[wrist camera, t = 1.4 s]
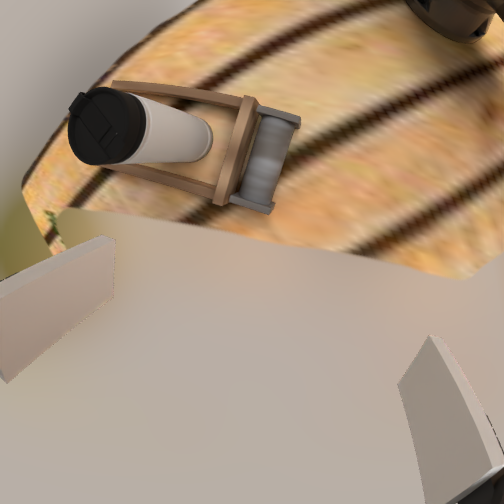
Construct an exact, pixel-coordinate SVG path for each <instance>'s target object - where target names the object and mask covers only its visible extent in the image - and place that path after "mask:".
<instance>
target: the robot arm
mask: <svg viewBox="0 0 504 504" xmlns="http://www.w3.org/2000/svg"><path fill="white" fill-rule="evenodd" d="M406 2H407V3H408V5H409V6H410V7H411V9H412V10H413V11H414V12H415V13H416V14H417V15H418V16H419V17H420V18H421V19H422V20H423V21H424V22H425V23H426V24H427V25H429V26H430V27H431V28H432V29H434V30H435V31H437V32H438V33H440V34H442V35H443V36H445V37H447V38H449V39H452V40H454V41H457V42H461V43H473V42H476V41H477V40H479V39H480V38H482V37H483V36H484V35H485V34H486V33H487V31H488V29H489V26H490V24H491V21H492V19H493V16H494V14H495V13H497V14H498V15H499V17H500V18H501V19H502V21H503V22H504V0H406ZM115 244H116V240H115V239H113V238H110V237H107V236H104V235H100V236H98V237H95V238H93V239H91V240H88V241H86V242H84V243H81V244H79V245H77V246H74V247H72V248H70V249H68V250H65V251H63V252H61V253H59V254H56V255H54V256H52V257H50V258H48V259H46V260H44V261H42V262H39V263H37V264H35V265H33V266H31V267H29V268H27V269H25V270H23V271H21V272H18V273H15V274H13V275H11V276H9V277H7V278H6V279H5V280H4V279H3V280H1V281H0V377H1V378H2V379H3V380H4V381H5V382H6V383H9V382H10V381H11V380H12V379H13V378H14V377H16V376H17V375H18V374H19V373H20V372H21V371H22V370H24V369H25V368H26V367H27V366H28V365H30V364H31V363H32V362H33V361H34V360H35V359H37V358H38V357H39V356H40V355H41V354H43V353H44V352H45V351H46V350H47V349H49V348H50V347H51V346H52V345H54V344H55V343H56V342H57V341H58V340H60V339H61V338H62V337H63V336H65V335H66V334H67V333H68V332H70V331H71V330H72V329H73V328H75V327H76V326H77V325H78V324H80V322H82V321H83V320H85V319H86V318H87V317H89V316H90V315H91V314H92V313H94V312H95V311H96V310H98V309H99V308H100V307H102V306H103V305H104V304H105V303H107V302H108V301H109V300H111V299H112V298H113V289H114V287H113V286H114V260H115ZM397 385H398V388H399V391H400V395H401V398H402V401H403V405H404V408H405V412H406V415H407V419H408V423H409V427H410V430H411V435H412V438H413V442H414V447H415V451H416V455H417V460H418V465H419V470H420V475H421V480H422V485H423V491H424V497H425V503H426V504H456V503H458V504H504V452H503V449H502V447H501V445H500V442H499V440H498V438H497V437H496V433H495V431H494V429H492V424H491V422H490V420H489V418H488V416H487V415H486V414H485V412H484V410H483V408H482V406H481V404H480V402H479V400H478V398H477V397H476V395H475V393H474V391H473V389H472V387H471V385H470V384H469V382H468V380H467V378H466V376H465V375H464V373H463V371H462V369H461V368H460V366H459V364H458V363H457V361H456V359H455V358H454V356H453V354H452V353H451V351H450V349H449V348H448V346H447V345H446V343H445V341H444V340H443V338H441V337H437V336H433V335H428V337H427V339H426V341H425V342H424V344H423V346H422V348H421V349H420V351H419V352H418V354H417V356H416V357H415V359H414V360H413V362H412V363H411V365H410V366H409V368H408V370H407V371H406V373H405V374H404V375H403V377H402V378H401V380H400V381H399V383H398V384H397Z"/></svg>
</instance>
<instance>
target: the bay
mask: <svg viewBox="0 0 504 504" xmlns="http://www.w3.org/2000/svg"><path fill="white" fill-rule="evenodd" d="M111 88H113V89H116V90H120V91H123V92H136V93H145V94H154V95H161V96H168V97H175V98H182V99H188V100H193V101H199V102H204V103H209V104H214V105H219V106H224V107H228V108H233V109H237V110H239V113H238V116H237V120H236V123H235V126H234V129H233V132H232V136H231V139H230V142H229V146H228V149H227V152H226V156H225V159H224V163H223V166H222V170H221V173H220V177H219V180H218V184H217V186H214V185H210V184H207V183H204V182H200V181H197V180H194V179H190V178H187V177H183V176H180V175H176V174H173V173H169V172H166V171H162V170H158V169H155V168H151V167H147V166H143V165H140V164H117V165H111V164H107V165H97V166H101V167H104V168H108V169H112V170H115V171H119V172H123V173H126V174H130V175H133V176H137V177H140V178H144V179H147V180H151V181H154V182H157V183H161V184H164V185H168V186H171V187H174V188H177V189H181V190H184V191H187V192H191V193H194V194H197V195H200V196H203V197H207V198H210V199H213V202H212V203H213V204H217V205H220V206H223V205H225V204H227V203H229V202H231V203H234V204H237V205H240V206H243V207H246V208H249V209H252V210H255V211H258V212H261V213H264V214H267V215H269V214H270V213H271V212H272V210H273V209H274V206H275V203H274V202H271V200H272V197H273V194H274V191H275V188H276V185H277V182H278V179H279V175H280V172H281V169H282V166H283V163H284V160H285V157H286V154H287V150H288V147H289V144H290V141H291V138H292V135H293V132H294V129H295V128H298V129H299V128H300V125H301V117H300V116H297V115H293V114H290V113H287V112H283V111H280V110H276V109H273V108H269V107H265V106H261V105H260V104H259V102H258V101H257V100H256V99H255V97H250V96H246V95H244V98H241V97H237V96H232V95H227V94H222V93H217V92H212V91H206V90H200V89H194V88H188V87H181V86H173V85H165V84H156V83H146V82H133V81H115V80H113V82H112V85H111ZM259 115H260V116H261V117H262V119H261V122H260V125H259V128H258V131H257V134H256V138H255V141H254V144H253V147H252V150H251V154H250V157H249V160H248V164H247V167H246V170H245V173H244V177H243V180H242V183H241V187H240V190H239V192H237V193H235V191H236V187H237V184H238V181H239V177H240V174H241V171H242V167H243V164H244V161H245V157H246V154H247V151H248V148H249V144H250V141H251V138H252V135H253V132H254V128H255V125H256V122H257V119H258V116H259Z"/></svg>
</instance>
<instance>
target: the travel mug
mask: <svg viewBox="0 0 504 504" xmlns="http://www.w3.org/2000/svg"><path fill="white" fill-rule="evenodd" d="M69 111H70V112H71V115H70V118H69V122H68V139H69V144H70V146H71V149H72V151H73V152H74V154H75V155H76V157H77V158H78V159H79V160H81V161H82V162H84V163H86V164H89V165H107V164H111V165H117V164H136V163H163V162H195V161H198V160H200V159H202V158H203V157H204V156H205V155H206V154H207V153H208V152H209V150H210V148H211V146H212V142H213V134H212V130H211V128H210V126H209V125H208V123H207V122H205V121H204V120H202V119H201V118H198V117H196V116H193V115H191V114H188V113H185V112H183V111H180V110H178V109H175V108H172V107H169V106H167V105H164V104H161V103H158V102H156V101H153V100H150V99H147V98H144V97H141V96H138V95H134V94H132V93H127V92H123V91H120V90H116V89H113V88H109V87H98V88H95V89H92V90H90V91H88V92H87V93H86V94H85V93H83V92H80V93H79V95H78V96H77V97H76V98H75V100H74V101H73V103H72V104H71V106H70V107H69Z"/></svg>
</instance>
